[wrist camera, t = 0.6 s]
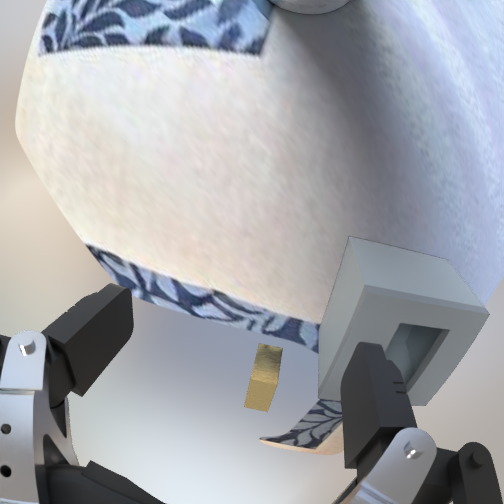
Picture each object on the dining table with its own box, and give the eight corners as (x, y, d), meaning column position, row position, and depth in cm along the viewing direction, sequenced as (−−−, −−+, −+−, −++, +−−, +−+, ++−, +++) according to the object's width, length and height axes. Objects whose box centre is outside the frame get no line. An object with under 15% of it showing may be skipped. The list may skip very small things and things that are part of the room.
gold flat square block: (259, 343, 35) (250, 378, 29) (282, 348, 34) (277, 384, 29) (252, 372, 37) (243, 406, 32) (273, 377, 37) (267, 411, 32)
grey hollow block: (349, 236, 27) (367, 292, 18) (448, 260, 26) (489, 314, 17) (318, 330, 32) (317, 398, 23) (407, 343, 31) (425, 405, 22)
